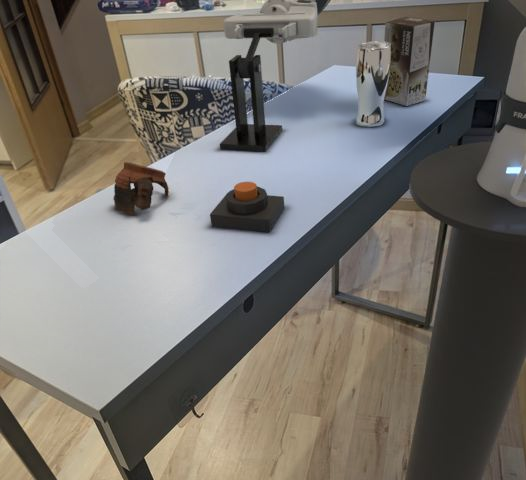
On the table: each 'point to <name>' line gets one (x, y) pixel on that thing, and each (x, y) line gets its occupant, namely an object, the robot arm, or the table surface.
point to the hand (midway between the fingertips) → (259, 33)
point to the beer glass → (372, 81)
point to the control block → (248, 212)
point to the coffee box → (409, 59)
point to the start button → (245, 191)
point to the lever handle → (252, 47)
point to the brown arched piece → (136, 187)
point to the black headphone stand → (244, 133)
